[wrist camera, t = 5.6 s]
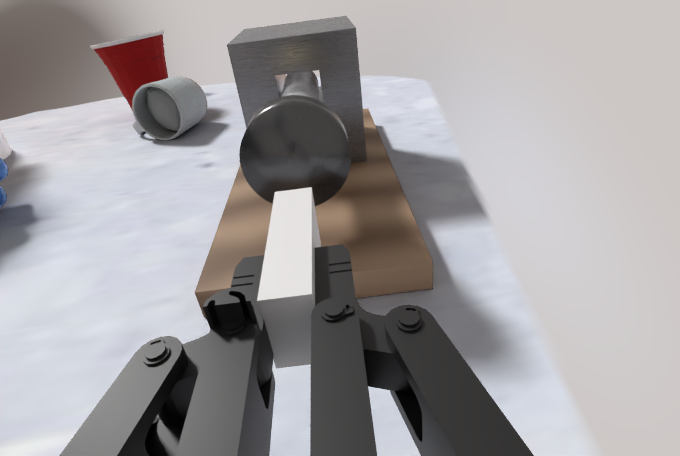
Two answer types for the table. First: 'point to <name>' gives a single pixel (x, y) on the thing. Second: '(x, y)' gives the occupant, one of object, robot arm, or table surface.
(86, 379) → the table surface
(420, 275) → the base plate
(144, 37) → the plastic cup
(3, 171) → the grapes
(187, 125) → the ceramic mug
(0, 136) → the potted cactus
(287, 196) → the robot arm
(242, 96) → the bearing block
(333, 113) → the shaft
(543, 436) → the table surface
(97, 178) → the table surface
